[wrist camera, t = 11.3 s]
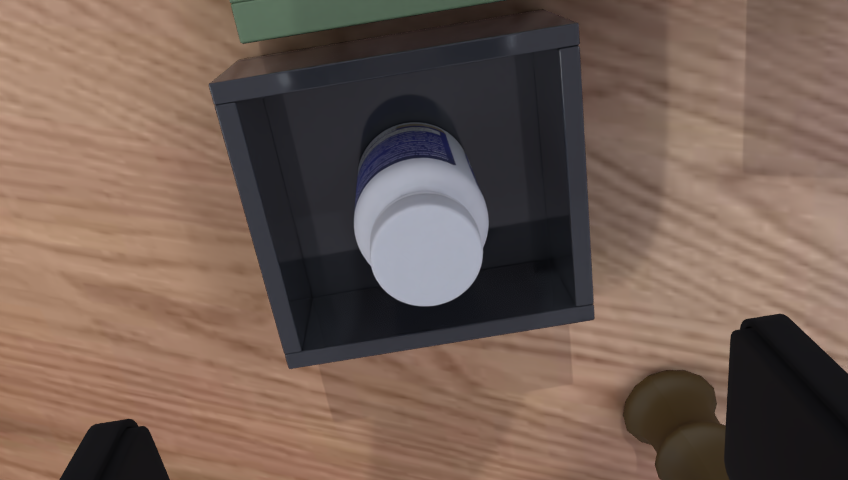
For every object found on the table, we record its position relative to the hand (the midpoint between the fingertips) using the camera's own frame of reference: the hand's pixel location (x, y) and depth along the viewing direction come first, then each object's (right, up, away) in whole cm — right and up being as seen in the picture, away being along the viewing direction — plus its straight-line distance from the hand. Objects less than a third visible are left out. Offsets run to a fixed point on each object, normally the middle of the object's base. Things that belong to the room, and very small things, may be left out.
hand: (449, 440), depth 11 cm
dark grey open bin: (-1, +7, +21) cm, 22 cm away
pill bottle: (-1, +6, +21) cm, 22 cm away
